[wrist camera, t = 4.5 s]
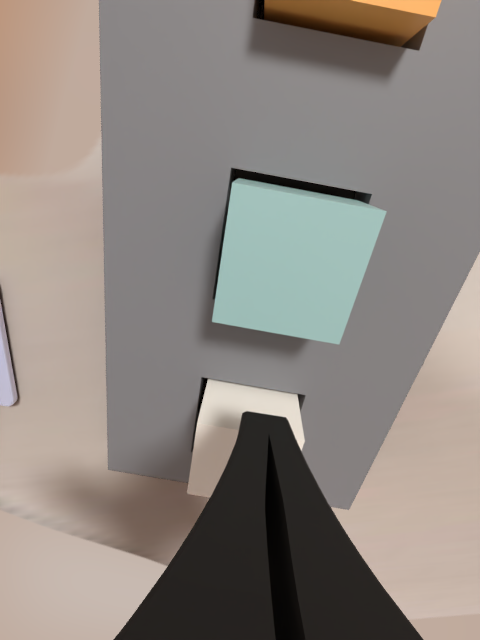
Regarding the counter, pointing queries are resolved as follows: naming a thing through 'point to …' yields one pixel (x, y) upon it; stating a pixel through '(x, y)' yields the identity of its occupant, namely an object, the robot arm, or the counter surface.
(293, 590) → the robot arm
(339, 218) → the teal button
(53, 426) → the counter surface
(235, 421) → the white button
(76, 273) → the counter surface
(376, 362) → the button panel
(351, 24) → the orange button
